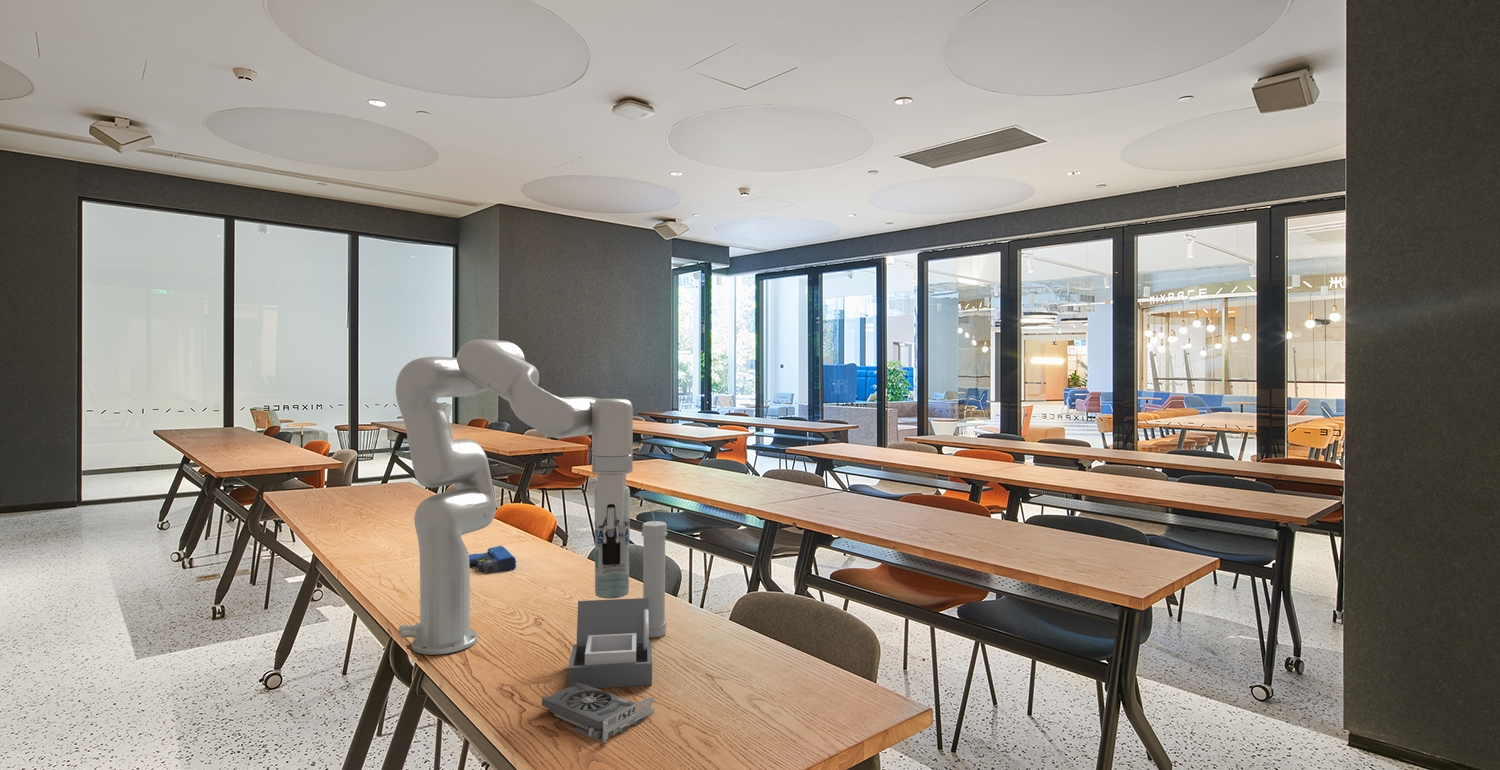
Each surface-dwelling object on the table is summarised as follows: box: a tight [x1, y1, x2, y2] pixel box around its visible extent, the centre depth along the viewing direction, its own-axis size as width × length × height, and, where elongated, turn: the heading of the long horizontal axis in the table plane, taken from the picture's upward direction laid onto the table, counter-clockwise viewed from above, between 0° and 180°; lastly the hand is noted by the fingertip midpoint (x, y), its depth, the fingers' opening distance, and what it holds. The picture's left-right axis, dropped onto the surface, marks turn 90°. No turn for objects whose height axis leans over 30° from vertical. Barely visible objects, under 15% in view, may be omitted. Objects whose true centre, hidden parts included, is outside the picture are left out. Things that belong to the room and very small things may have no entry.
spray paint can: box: [594, 485, 631, 600], centre depth 133 cm, size 6×6×20 cm
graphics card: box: [541, 682, 655, 745], centre depth 118 cm, size 17×4×12 cm
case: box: [567, 597, 653, 689], centre depth 136 cm, size 15×16×11 cm
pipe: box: [639, 496, 668, 639], centre depth 154 cm, size 6×6×30 cm
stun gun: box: [469, 545, 517, 574], centre depth 206 cm, size 4×16×15 cm
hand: (612, 558), depth 133 cm, fingers closed on spray paint can, 6 cm apart
